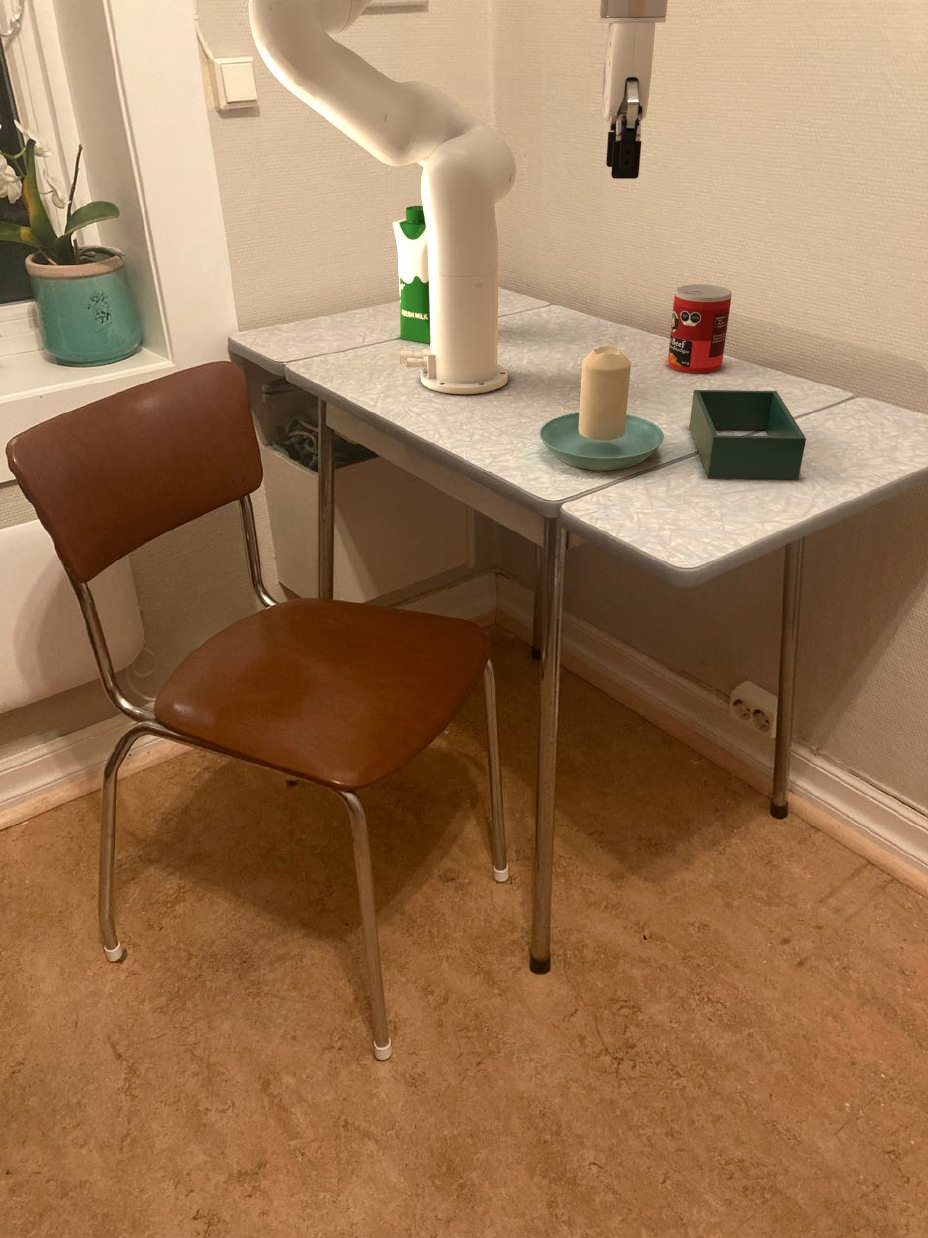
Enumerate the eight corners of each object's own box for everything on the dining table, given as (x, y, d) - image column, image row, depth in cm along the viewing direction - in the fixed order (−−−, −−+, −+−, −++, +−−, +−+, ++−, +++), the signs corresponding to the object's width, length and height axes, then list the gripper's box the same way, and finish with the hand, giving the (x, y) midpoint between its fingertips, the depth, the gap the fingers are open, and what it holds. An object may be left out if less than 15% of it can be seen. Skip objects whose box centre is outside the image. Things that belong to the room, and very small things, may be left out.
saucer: (537, 430, 123) (537, 410, 121) (653, 430, 122) (655, 410, 121) (540, 478, 110) (541, 456, 109) (669, 479, 110) (672, 457, 108)
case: (707, 478, 110) (713, 436, 107) (689, 427, 123) (693, 389, 120) (798, 479, 109) (806, 438, 106) (770, 428, 122) (776, 390, 120)
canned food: (661, 358, 147) (669, 284, 141) (712, 357, 147) (722, 283, 141) (675, 375, 140) (683, 298, 134) (728, 373, 141) (739, 296, 135)
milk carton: (392, 339, 157) (386, 207, 146) (423, 325, 163) (420, 198, 152) (437, 347, 153) (434, 212, 142) (467, 333, 159) (466, 203, 148)
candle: (623, 442, 112) (630, 357, 107) (576, 439, 113) (580, 355, 108) (626, 425, 117) (633, 343, 111) (580, 422, 117) (585, 340, 112)
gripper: (596, 7, 117) (587, 162, 126) (604, 8, 102) (594, 183, 111) (658, 7, 116) (645, 162, 126) (676, 7, 102) (659, 183, 111)
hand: (621, 172), depth 119 cm, fingers open, 9 cm apart
